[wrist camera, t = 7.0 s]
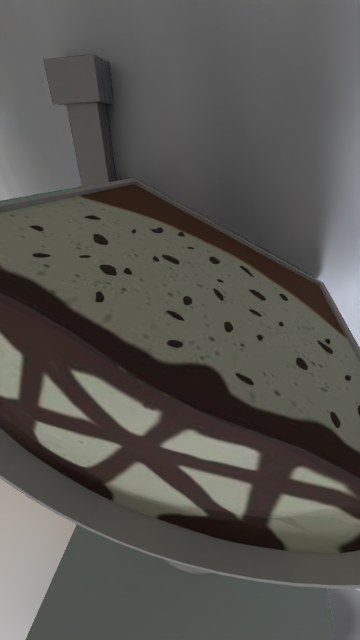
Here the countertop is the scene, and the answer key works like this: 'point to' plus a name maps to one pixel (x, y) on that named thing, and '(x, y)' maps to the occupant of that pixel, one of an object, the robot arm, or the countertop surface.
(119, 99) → the countertop surface
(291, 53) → the countertop surface
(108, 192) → the food container
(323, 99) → the countertop surface
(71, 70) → the guide rail
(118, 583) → the cabinet
